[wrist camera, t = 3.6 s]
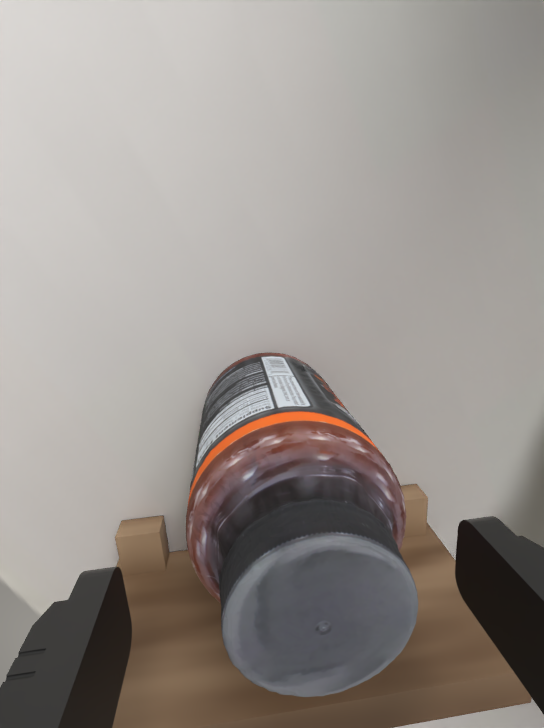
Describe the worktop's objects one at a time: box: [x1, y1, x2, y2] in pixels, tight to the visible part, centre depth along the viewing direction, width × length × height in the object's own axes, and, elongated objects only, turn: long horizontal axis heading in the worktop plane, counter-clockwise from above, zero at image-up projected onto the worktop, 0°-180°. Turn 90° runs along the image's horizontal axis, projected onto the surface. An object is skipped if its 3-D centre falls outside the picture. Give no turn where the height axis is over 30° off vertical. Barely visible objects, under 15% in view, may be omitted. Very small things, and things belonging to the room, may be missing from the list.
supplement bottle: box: [186, 353, 418, 697], centre depth 13 cm, size 6×6×11 cm
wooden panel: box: [112, 484, 531, 728], centre depth 17 cm, size 6×16×8 cm, turn 94°
